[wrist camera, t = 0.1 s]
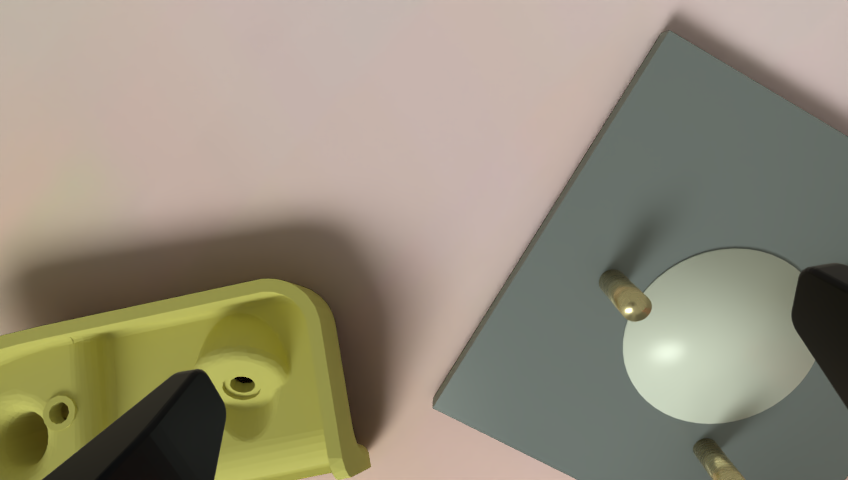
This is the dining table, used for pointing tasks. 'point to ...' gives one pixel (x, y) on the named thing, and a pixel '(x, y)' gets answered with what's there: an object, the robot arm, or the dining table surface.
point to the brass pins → (636, 309)
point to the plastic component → (180, 351)
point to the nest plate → (672, 291)
